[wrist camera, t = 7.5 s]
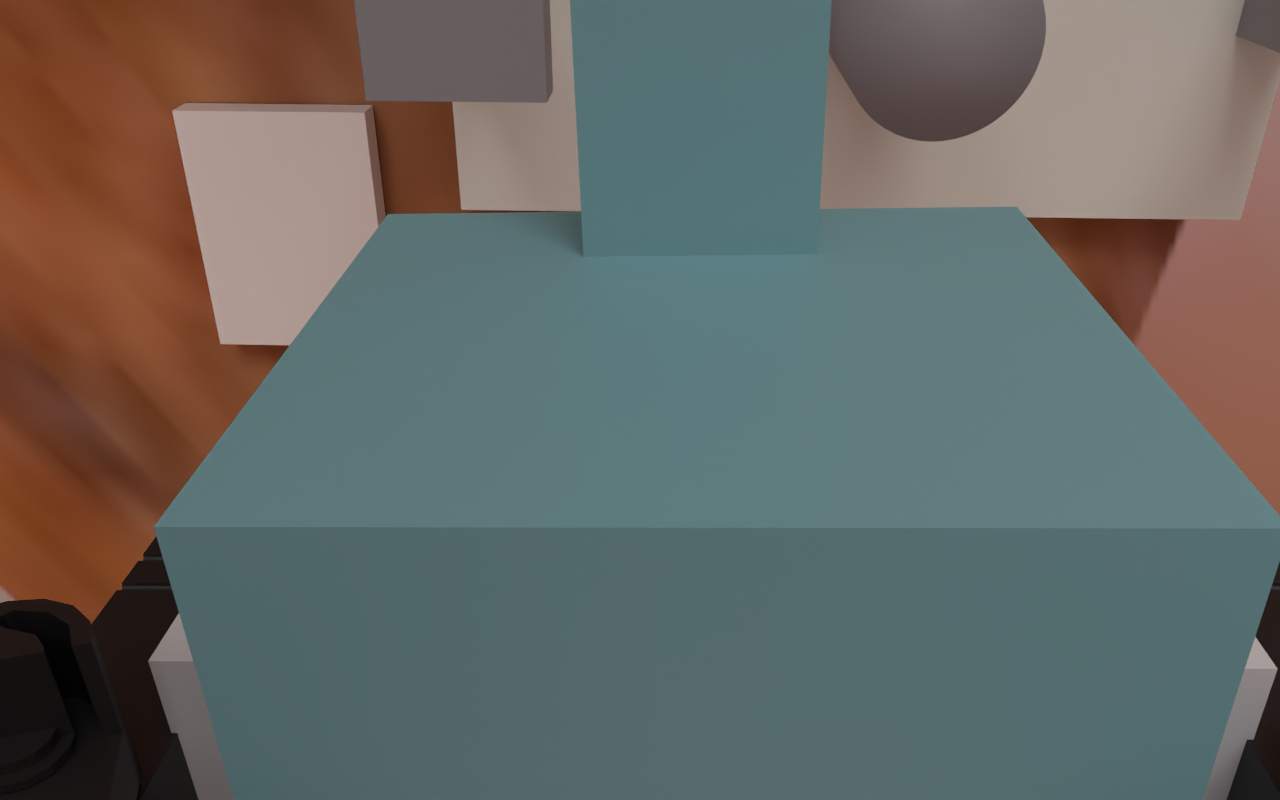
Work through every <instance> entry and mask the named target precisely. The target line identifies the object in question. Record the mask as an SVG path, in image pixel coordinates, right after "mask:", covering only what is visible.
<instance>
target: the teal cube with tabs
mask: <svg viewBox="0 0 1280 800" xmlns="http://www.w3.org/2000/svg"><path fill="white" fill-rule="evenodd" d="M831 4H832V0H570V13H571V31H572V50H573V69H574V88H575V107H576V125H577V144H578V163H579V182H580V201H581V212H519V213H435V214H388V215H387V216H386V217H385V219H384V220H383V221H382V223H381V224H380V225H379V227H378V228H377V229H376V231H375V232H374V233H373V235H372V236H371V237H370V239H369V240H368V241H367V243H366V244H365V245H364V247H363V248H362V249H361V251H360V252H359V253H358V255H357V256H356V257H355V259H354V260H353V262H352V263H351V264H350V266H349V267H348V268H347V270H346V271H345V272H344V274H343V275H342V276H341V278H340V279H339V280H338V282H337V283H336V284H335V286H334V287H333V288H332V290H331V291H330V292H329V294H328V295H327V296H326V298H325V299H324V300H323V302H322V303H321V304H320V306H319V307H318V308H317V310H316V311H315V312H314V314H313V315H312V316H311V318H310V319H309V320H308V322H307V323H306V324H305V326H304V327H303V328H302V330H301V331H300V332H299V334H298V335H297V336H296V338H295V339H294V340H293V342H292V343H291V344H290V346H289V347H288V348H287V350H286V351H285V352H284V354H283V355H282V356H281V358H280V359H279V360H278V362H277V363H276V364H275V366H274V367H273V368H272V370H271V371H270V372H269V374H268V375H267V376H266V378H265V379H264V380H263V382H262V383H261V384H260V386H259V387H258V388H257V390H256V391H255V392H254V394H253V395H252V396H251V398H250V399H249V400H248V402H247V403H246V404H245V406H244V407H243V408H242V410H241V411H240V412H239V414H238V415H237V416H236V418H235V419H234V420H233V422H232V423H231V424H230V426H229V427H228V428H227V430H226V431H225V432H224V434H223V435H222V436H221V438H220V439H219V440H218V442H217V443H216V444H215V446H214V447H213V448H212V450H211V451H210V452H209V454H208V455H207V456H206V458H205V459H204V460H203V462H202V463H201V464H200V466H199V467H198V468H197V470H196V471H195V472H194V474H193V475H192V477H191V478H190V479H189V481H188V482H187V483H186V485H185V486H184V487H183V489H182V490H181V491H180V493H179V494H178V495H177V497H176V498H175V499H174V501H173V502H172V503H171V505H170V506H169V507H168V509H167V510H166V511H165V513H164V514H163V515H162V517H161V518H160V519H159V521H158V522H157V523H156V525H155V526H154V530H155V533H156V536H157V540H158V543H159V547H160V550H161V553H162V557H163V560H164V564H165V567H166V570H167V574H168V577H169V581H170V584H171V587H172V591H173V594H174V597H175V601H176V604H177V608H178V611H179V614H180V618H181V621H182V625H183V628H184V631H185V635H186V638H187V642H188V645H189V648H190V652H191V655H192V659H193V662H194V665H195V669H196V672H197V675H198V679H199V682H200V686H201V689H202V692H203V696H204V699H205V703H206V706H207V709H208V713H209V716H210V720H211V723H212V726H213V730H214V733H215V736H216V740H217V743H218V747H219V750H220V753H221V757H222V760H223V764H224V767H225V770H226V774H227V777H228V781H229V784H230V787H231V791H232V794H233V798H234V800H1202V799H1203V796H1204V793H1205V790H1206V787H1207V784H1208V781H1209V778H1210V775H1211V772H1212V769H1213V765H1214V762H1215V759H1216V756H1217V753H1218V750H1219V747H1220V744H1221V741H1222V738H1223V735H1224V731H1225V728H1226V725H1227V722H1228V719H1229V716H1230V713H1231V710H1232V707H1233V704H1234V701H1235V698H1236V694H1237V691H1238V688H1239V685H1240V682H1241V679H1242V676H1243V673H1244V670H1245V667H1246V664H1247V660H1248V657H1249V654H1250V651H1251V648H1252V645H1253V642H1254V639H1255V636H1256V633H1257V630H1258V627H1259V623H1260V620H1261V617H1262V614H1263V611H1264V608H1265V605H1266V602H1267V599H1268V596H1269V593H1270V590H1271V586H1272V583H1273V580H1274V577H1275V574H1276V571H1277V568H1278V565H1279V562H1280V516H1279V515H1278V514H1277V512H1276V511H1275V510H1274V509H1273V508H1272V507H1271V505H1270V504H1269V503H1268V502H1267V501H1266V499H1265V498H1264V497H1263V496H1262V495H1261V494H1260V493H1259V491H1258V490H1257V489H1256V488H1255V487H1254V485H1253V484H1252V483H1251V482H1250V481H1249V479H1248V478H1247V477H1246V476H1245V475H1244V474H1243V472H1242V471H1241V470H1240V469H1239V468H1238V467H1237V465H1236V464H1235V463H1234V462H1233V461H1232V459H1231V458H1230V457H1229V456H1228V455H1227V454H1226V452H1225V451H1224V450H1223V449H1222V448H1221V446H1220V445H1219V444H1218V443H1217V442H1216V441H1215V439H1214V438H1213V437H1212V436H1211V435H1210V434H1209V432H1208V431H1207V430H1206V429H1205V428H1204V426H1203V425H1202V424H1201V423H1200V422H1199V421H1198V419H1197V418H1196V417H1195V416H1194V415H1193V414H1192V412H1191V411H1190V410H1189V409H1188V408H1187V406H1186V405H1185V404H1184V403H1183V402H1182V401H1181V400H1180V398H1179V397H1178V396H1177V395H1176V394H1175V392H1174V391H1173V390H1172V389H1171V388H1170V387H1169V385H1168V384H1167V383H1166V382H1165V381H1164V380H1163V378H1162V377H1161V376H1160V375H1159V374H1158V372H1157V371H1156V370H1155V369H1154V368H1153V367H1152V366H1151V364H1150V363H1149V362H1148V361H1147V359H1146V358H1145V357H1144V356H1143V355H1142V353H1141V352H1140V351H1139V350H1138V349H1137V348H1136V346H1135V345H1134V344H1133V343H1132V342H1131V341H1130V339H1129V338H1128V337H1127V336H1126V335H1125V333H1124V332H1123V331H1122V330H1121V329H1120V328H1119V326H1118V325H1117V324H1116V323H1115V322H1114V321H1113V319H1112V318H1111V317H1110V316H1109V315H1108V313H1107V312H1106V311H1105V310H1104V309H1103V308H1102V306H1101V305H1100V304H1099V303H1098V302H1097V301H1096V299H1095V298H1094V297H1093V296H1092V295H1091V293H1090V292H1089V291H1088V290H1087V289H1086V288H1085V286H1084V285H1083V284H1082V283H1081V282H1080V280H1079V279H1078V278H1077V277H1076V276H1075V275H1074V273H1073V272H1072V271H1071V270H1070V269H1069V268H1068V266H1067V265H1066V264H1065V263H1064V262H1063V260H1062V259H1061V258H1060V257H1059V256H1058V255H1057V253H1056V252H1055V251H1054V250H1053V249H1052V248H1051V246H1050V245H1049V244H1048V243H1047V242H1046V240H1045V239H1044V238H1043V237H1042V236H1041V235H1040V233H1039V232H1038V231H1037V230H1036V229H1035V228H1034V226H1033V225H1032V224H1031V223H1030V222H1029V220H1028V219H1027V218H1026V217H1025V216H1024V215H1023V213H1022V212H1021V211H1020V210H1019V209H1018V208H1017V207H942V208H857V209H820V195H821V178H822V161H823V143H824V126H825V109H826V91H827V74H828V56H829V39H830V22H831Z"/></svg>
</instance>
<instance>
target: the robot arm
mask: <svg viewBox="0 0 1280 800" xmlns="http://www.w3.org/2000/svg"><path fill="white" fill-rule="evenodd" d="M143 555H144V558H143V561H138V562H137V563H136V565H135V566H134V568H133V569H132V570H131V572H130V573H129V574H128V576H127V577H126V578H125V580H124V581H123V582H122V590H117V591H116V592H115V593H114V595H113V596H112V597H111V599H110V600H109V601H108V603H107V604H106V606H105V607H104V608H103V610H102V611H101V612H100V614H99V615H98V616H97V618H96V619H95V620H94V622H93V623H92V625H91V623H90V621H89V620H88V619H87V618H86V617H85V616H84V615H83V614H82V613H81V612H80V611H79V610H77V609H76V608H75V607H74V606H73V605H69V604H64V603H60V602H56V601H51V600H47V599H34V600H19V601H7V602H3V603H0V800H234V798H233V794H232V791H231V787H230V784H229V781H228V777H227V774H226V770H225V767H224V764H223V760H222V757H221V753H220V750H219V747H218V743H217V740H216V736H215V733H214V730H213V726H212V723H211V720H210V716H209V713H208V709H207V706H206V703H205V699H204V696H203V692H202V689H201V686H200V682H199V679H198V675H197V672H196V669H195V665H194V662H193V659H192V655H191V652H190V648H189V645H188V642H187V638H186V635H185V631H184V628H183V625H182V621H181V618H180V614H179V611H178V608H177V604H176V601H175V597H174V594H173V591H172V587H171V584H170V581H169V577H168V574H167V570H166V567H165V564H164V560H163V557H162V553H161V550H160V547H159V543H158V540H157V536H156V538H155V539H154V540H153V542H152V543H151V544H150V546H149V547H148V549H147V550H146V551H145V553H144V554H143ZM1202 800H1280V562H1279V565H1278V568H1277V571H1276V574H1275V577H1274V580H1273V583H1272V586H1271V590H1270V593H1269V596H1268V599H1267V602H1266V605H1265V608H1264V611H1263V614H1262V617H1261V620H1260V623H1259V627H1258V630H1257V633H1256V636H1255V639H1254V642H1253V645H1252V648H1251V651H1250V654H1249V657H1248V660H1247V664H1246V667H1245V670H1244V673H1243V676H1242V679H1241V682H1240V685H1239V688H1238V691H1237V694H1236V698H1235V701H1234V704H1233V707H1232V710H1231V713H1230V716H1229V719H1228V722H1227V725H1226V728H1225V731H1224V735H1223V738H1222V741H1221V744H1220V747H1219V750H1218V753H1217V756H1216V759H1215V762H1214V765H1213V769H1212V772H1211V775H1210V778H1209V781H1208V784H1207V787H1206V790H1205V793H1204V796H1203V799H1202Z"/></svg>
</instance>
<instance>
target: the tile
mask: <svg viewBox="0 0 1280 800" xmlns="http://www.w3.org/2000/svg"><path fill="white" fill-rule="evenodd" d="M172 112H173V117H174V122H175V127H176V131H177V136H178V141H179V146H180V151H181V156H182V160H183V165H184V170H185V175H186V180H187V185H188V189H189V194H190V199H191V204H192V209H193V214H194V218H195V223H196V228H197V233H198V238H199V243H200V247H201V252H202V257H203V262H204V267H205V272H206V276H207V281H208V286H209V291H210V296H211V301H212V305H213V310H214V315H215V320H216V325H217V330H218V334H219V339H220V344H244V345H290V344H291V343H292V342H293V340H294V339H295V338H296V336H297V335H298V334H299V332H300V331H301V330H302V328H303V327H304V326H305V324H306V323H307V322H308V320H309V319H310V318H311V316H312V315H313V314H314V312H315V311H316V310H317V308H318V307H319V306H320V304H321V303H322V302H323V300H324V299H325V298H326V296H327V295H328V294H329V292H330V291H331V290H332V288H333V287H334V286H335V284H336V283H337V282H338V280H339V279H340V278H341V276H342V275H343V274H344V272H345V271H346V270H347V268H348V267H349V266H350V264H351V263H352V262H353V260H354V259H355V257H356V256H357V255H358V253H359V252H360V251H361V249H362V248H363V247H364V245H365V244H366V243H367V241H368V240H369V239H370V237H371V236H372V235H373V233H374V232H375V231H376V229H377V228H378V227H379V225H380V224H381V223H382V221H383V220H384V219H385V217H386V214H385V206H384V197H383V189H382V180H381V172H380V163H379V155H378V146H377V138H376V129H375V121H374V112H373V105H327V104H227V103H185V104H183V105H181V106H179V107H178V108H176V109H174V110H172Z"/></svg>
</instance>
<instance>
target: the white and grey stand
mask: <svg viewBox="0 0 1280 800" xmlns="http://www.w3.org/2000/svg"><path fill="white" fill-rule="evenodd" d="M354 5H355V14H356V22H357V30H358V39H359V47H360V55H361V64H362V72H363V80H364V89H365V97H366V101H426V102H452V103H453V116H454V128H455V140H456V152H457V164H458V176H459V189H460V201H461V210H511V211H581V201H580V182H579V163H578V144H577V125H576V107H575V88H574V69H573V50H572V31H571V13H570V0H354ZM1279 82H1280V0H832V4H831V22H830V39H829V56H828V74H827V91H826V109H825V126H824V143H823V161H822V178H821V195H820V209H857V208H942V207H1017V208H1018V209H1019V210H1020V211H1021V212H1022V213H1023V215H1024V216H1025V217H1041V218H1117V219H1193V220H1198V219H1199V220H1241V217H1242V214H1243V210H1244V207H1245V203H1246V199H1247V196H1248V192H1249V189H1250V185H1251V182H1252V178H1253V175H1254V171H1255V168H1256V164H1257V161H1258V157H1259V153H1260V150H1261V146H1262V143H1263V139H1264V136H1265V132H1266V129H1267V125H1268V122H1269V118H1270V114H1271V111H1272V107H1273V104H1274V100H1275V97H1276V93H1277V90H1278V86H1279Z"/></svg>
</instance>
